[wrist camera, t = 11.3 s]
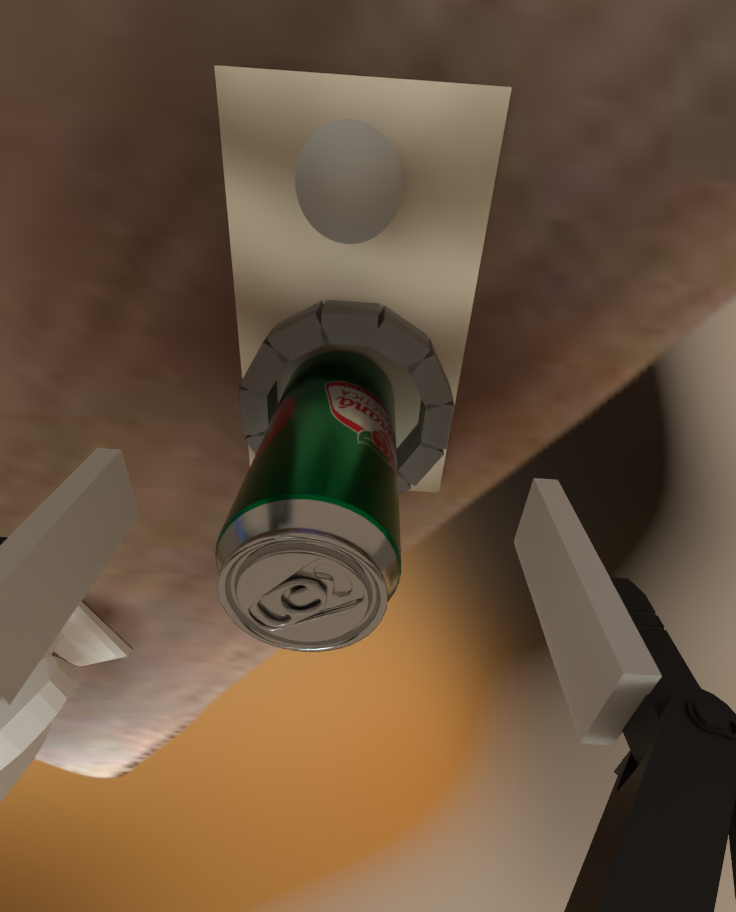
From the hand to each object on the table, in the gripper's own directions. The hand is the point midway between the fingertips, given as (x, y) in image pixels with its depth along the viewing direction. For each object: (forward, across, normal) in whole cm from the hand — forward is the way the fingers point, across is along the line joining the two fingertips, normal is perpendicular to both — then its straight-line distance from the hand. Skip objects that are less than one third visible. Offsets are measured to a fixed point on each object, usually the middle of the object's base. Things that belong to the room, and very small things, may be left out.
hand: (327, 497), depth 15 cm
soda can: (+8, 0, 0) cm, 8 cm away
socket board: (+9, 0, +3) cm, 10 cm away
